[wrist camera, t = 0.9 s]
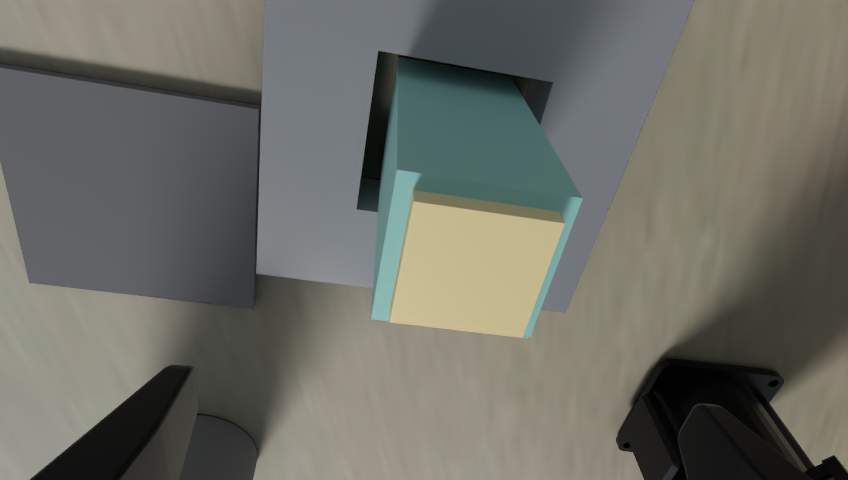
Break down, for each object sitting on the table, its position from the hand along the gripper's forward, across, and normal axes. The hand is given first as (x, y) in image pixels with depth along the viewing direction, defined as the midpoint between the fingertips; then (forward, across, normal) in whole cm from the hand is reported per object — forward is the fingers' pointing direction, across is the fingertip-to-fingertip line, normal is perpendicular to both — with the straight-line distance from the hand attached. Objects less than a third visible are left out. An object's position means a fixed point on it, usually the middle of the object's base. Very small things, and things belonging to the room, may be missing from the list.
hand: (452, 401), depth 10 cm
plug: (+12, 0, -1) cm, 13 cm away
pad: (+12, +11, +4) cm, 17 cm away
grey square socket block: (+12, 0, -1) cm, 13 cm away
